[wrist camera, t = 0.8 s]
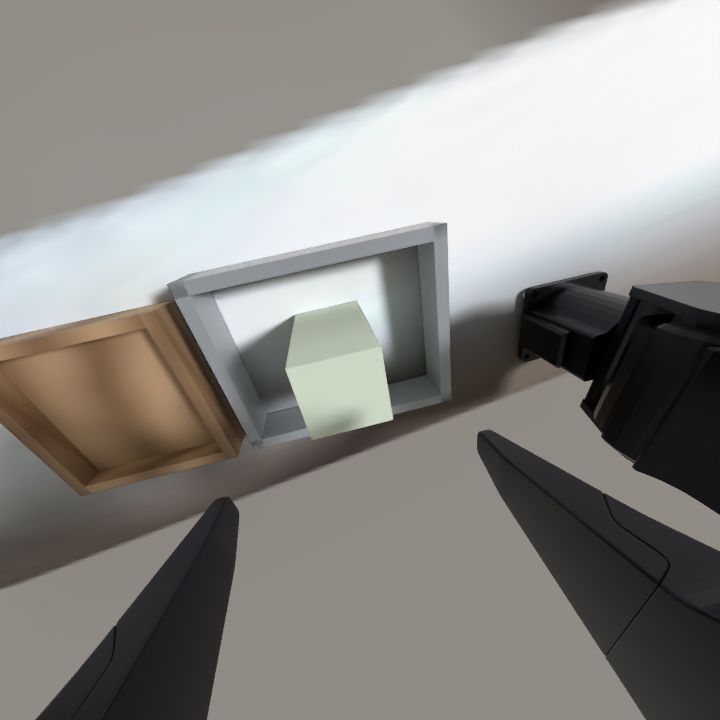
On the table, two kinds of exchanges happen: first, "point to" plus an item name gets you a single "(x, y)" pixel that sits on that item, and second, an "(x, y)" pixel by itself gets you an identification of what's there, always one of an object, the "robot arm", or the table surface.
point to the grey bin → (208, 319)
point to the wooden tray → (116, 399)
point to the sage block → (337, 371)
